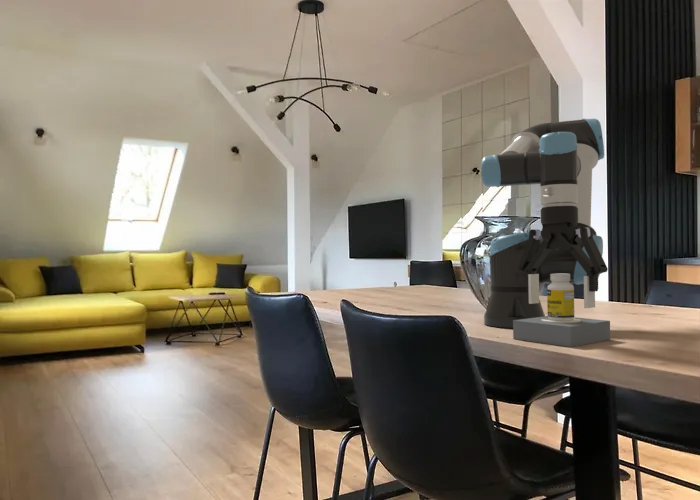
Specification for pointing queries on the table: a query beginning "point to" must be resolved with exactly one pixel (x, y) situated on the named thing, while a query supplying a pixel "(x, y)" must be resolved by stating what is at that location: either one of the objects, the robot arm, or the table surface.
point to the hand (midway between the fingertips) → (560, 305)
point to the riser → (561, 331)
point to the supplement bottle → (560, 298)
